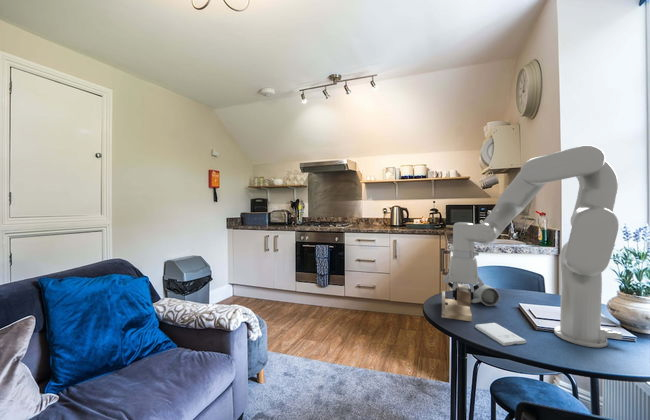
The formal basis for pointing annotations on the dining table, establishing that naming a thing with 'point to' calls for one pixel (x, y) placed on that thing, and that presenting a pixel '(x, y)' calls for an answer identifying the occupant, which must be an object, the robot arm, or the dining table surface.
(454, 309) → the oak ledge
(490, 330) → the external hard drive
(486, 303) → the ceramic mug
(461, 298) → the brown rectangular block
